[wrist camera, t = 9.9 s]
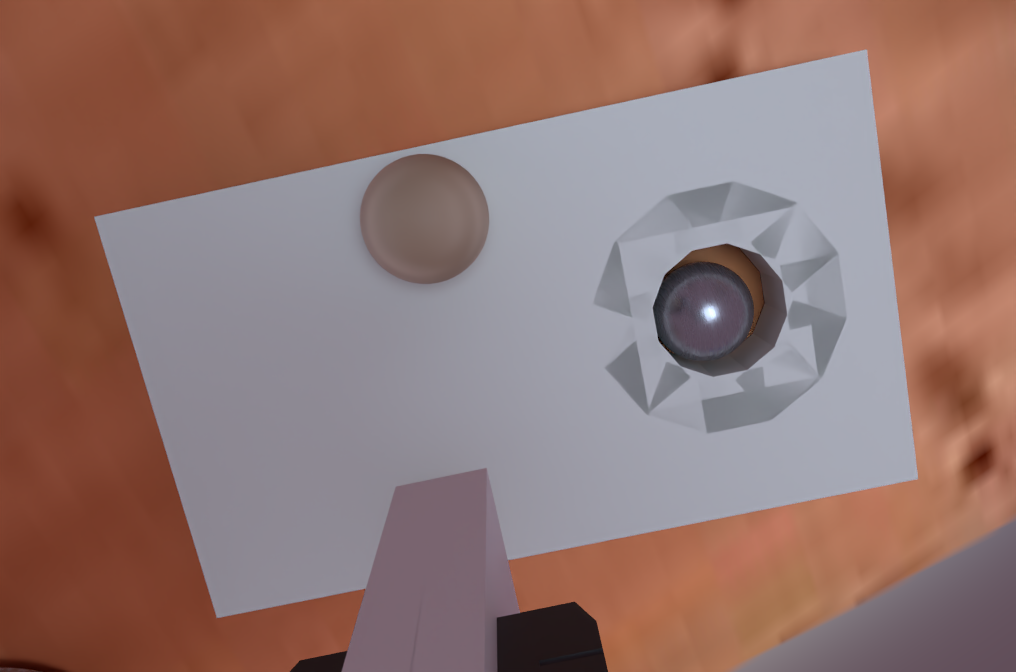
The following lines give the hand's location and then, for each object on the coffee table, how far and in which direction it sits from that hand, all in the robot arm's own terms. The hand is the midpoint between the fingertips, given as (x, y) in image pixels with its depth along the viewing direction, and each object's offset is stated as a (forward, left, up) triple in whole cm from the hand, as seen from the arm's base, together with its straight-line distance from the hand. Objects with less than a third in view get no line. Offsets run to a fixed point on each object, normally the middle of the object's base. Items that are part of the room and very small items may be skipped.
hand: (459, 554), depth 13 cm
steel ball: (+8, 0, -16) cm, 18 cm away
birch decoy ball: (-1, +5, -14) cm, 14 cm away
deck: (+1, 0, -18) cm, 18 cm away
